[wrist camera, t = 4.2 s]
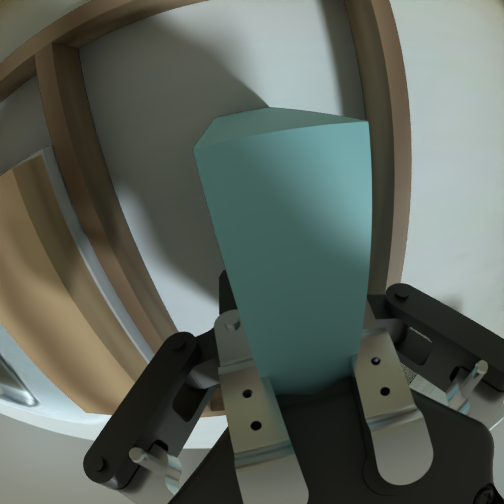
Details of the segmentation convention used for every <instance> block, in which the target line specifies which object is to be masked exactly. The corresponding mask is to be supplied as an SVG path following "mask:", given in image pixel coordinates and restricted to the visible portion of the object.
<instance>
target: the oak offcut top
mask: <svg viewBox="0 0 504 504" xmlns="http://www.w3.org/2000/svg"><path fill="white" fill-rule="evenodd" d="M0 322H1V323H2V325H3V326H4V328H5V329H6V330H7V332H8V333H9V334H10V335H11V337H12V338H13V339H14V340H15V342H16V343H17V344H18V345H19V347H20V348H21V349H22V350H23V351H24V353H25V354H26V355H27V356H28V357H29V358H30V359H31V360H32V362H33V363H34V364H35V365H36V366H37V367H38V368H39V369H40V370H41V371H42V372H43V373H44V374H45V375H46V376H47V377H48V378H49V379H50V380H51V381H52V382H53V383H54V384H55V385H56V386H57V387H58V388H59V389H60V390H61V391H62V392H63V393H64V394H65V395H66V396H68V397H69V398H70V399H71V400H72V401H73V402H74V403H75V404H77V405H78V406H79V407H80V408H81V409H83V410H84V411H85V412H86V413H95V414H106V415H113V414H114V412H115V411H116V409H117V408H118V406H119V405H120V404H121V402H122V401H123V399H124V398H125V396H126V395H127V394H128V392H129V391H130V389H131V388H132V386H133V385H134V384H135V382H136V381H137V379H138V378H139V377H140V375H141V374H142V372H143V371H144V369H145V368H146V367H147V365H148V363H147V362H146V361H145V359H144V358H143V357H142V355H141V354H140V352H139V351H138V350H137V348H136V347H135V345H134V344H133V342H132V341H131V340H130V338H129V337H128V335H127V334H126V332H125V331H124V329H123V328H122V326H121V325H120V323H119V321H118V320H117V318H116V317H115V315H114V314H113V312H112V310H111V309H110V307H109V305H108V304H107V302H106V300H105V299H104V297H103V295H102V294H101V292H100V290H99V288H98V287H97V285H96V283H95V281H94V279H93V277H92V276H91V274H90V272H89V270H88V268H87V266H86V264H85V262H84V260H83V258H82V256H81V254H80V252H79V250H78V248H77V246H76V244H75V242H74V240H73V238H72V235H71V233H70V231H69V229H68V226H67V224H66V222H65V219H64V217H63V215H62V212H61V210H60V207H59V205H58V202H57V200H56V197H55V194H54V192H53V189H52V186H51V183H50V180H49V178H48V175H47V172H46V168H45V165H44V162H43V159H42V155H39V156H37V157H35V158H33V159H30V160H28V161H26V162H24V163H22V164H20V165H18V166H16V167H14V168H12V169H10V170H9V171H8V172H6V173H5V174H3V175H2V176H1V177H0Z"/></svg>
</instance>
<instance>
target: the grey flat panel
mask: <svg viewBox="0 0 504 504" xmlns="http://www.w3.org/2000/svg"><path fill="white" fill-rule="evenodd" d="M39 155H42V159H43V162H44V165H45V168H46V172H47V175H48V178H49V180H50V183H51V186H52V189H53V192H54V194H55V197H56V200H57V202H58V205H59V207H60V210H61V212H62V215H63V217H64V219H65V222H66V224H67V226H68V229H69V231H70V233H71V235H72V238H73V240H74V242H75V244H76V246H77V248H78V250H79V252H80V254H81V256H82V258H83V260H84V262H85V264H86V266H87V268H88V270H89V272H90V274H91V276H92V277H93V279H94V281H95V283H96V285H97V287H98V288H99V290H100V292H101V294H102V295H103V297H104V299H105V300H106V302H107V304H108V305H109V307H110V309H111V310H112V312H113V314H114V315H115V317H116V318H117V320H118V321H119V323H120V325H121V326H122V328H123V329H124V331H125V332H126V334H127V335H128V337H129V338H130V340H131V341H132V342H133V344H134V345H135V347H136V348H137V350H138V351H139V352H140V354H141V355H142V357H143V358H144V359H145V361H146V362H147V363H148V364H149V362H150V361H151V360H152V358H153V357H154V355H155V354H154V352H153V351H152V350H151V348H150V347H149V345H148V344H147V342H146V341H145V339H144V338H143V336H142V335H141V333H140V332H139V330H138V329H137V327H136V325H135V324H134V322H133V321H132V319H131V317H130V316H129V314H128V313H127V311H126V309H125V308H124V306H123V304H122V302H121V301H120V299H119V297H118V296H117V294H116V292H115V290H114V288H113V287H112V285H111V283H110V281H109V279H108V278H107V276H106V274H105V272H104V270H103V268H102V266H101V264H100V262H99V260H98V258H97V256H96V254H95V252H94V250H93V248H92V246H91V244H90V242H89V240H88V237H87V235H86V233H85V231H84V229H83V226H82V224H81V222H80V219H79V217H78V215H77V212H76V210H75V207H74V205H73V202H72V200H71V197H70V195H69V192H68V189H67V187H66V184H65V181H64V178H63V175H62V173H61V170H60V167H59V164H58V160H57V157H56V154H55V151H54V147H53V145H50V146H47V147H45V148H42V149H41V150H39V151H37V152H36V153H34V154H32V155H31V156H29V157H28V158H26V159H24V160H23V161H21V162H20V163H18V164H17V165H15V166H14V167H16V166H18V165H20V164H22V163H24V162H26V161H28V160H30V159H33V158H35V157H37V156H39ZM14 167H12V168H14ZM12 168H11V169H12ZM9 170H10V169H9ZM9 170H8V171H9ZM8 171H7V172H8ZM5 173H6V172H5ZM5 173H4V174H5ZM2 175H3V174H2ZM2 175H1V176H2ZM1 176H0V177H1Z"/></svg>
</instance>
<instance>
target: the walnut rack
mask: <svg viewBox="0 0 504 504" xmlns="http://www.w3.org/2000/svg"><path fill="white" fill-rule="evenodd" d="M203 1H208V0H92V1H90V2H88V3H86V4H84V5H83V6H81V7H79V8H77V9H75V10H74V11H72V12H70V13H68V14H67V15H65V16H63V17H62V18H60V19H59V20H57V21H55V22H54V23H52V24H51V25H49V26H48V27H46V28H45V29H43V30H42V31H41V32H39V33H38V34H36V35H35V36H34V37H32V38H31V39H30V40H28V41H27V42H26V43H24V44H23V45H22V46H21V47H19V48H18V49H17V50H16V51H14V52H13V53H12V54H11V55H10V56H8V57H7V58H6V59H5V60H4V61H3V62H2V63H1V64H0V103H1V102H2V101H3V100H4V99H5V98H6V97H7V96H9V95H10V94H11V93H12V92H14V91H15V90H16V89H17V88H19V87H20V86H21V85H22V84H24V83H25V82H26V81H28V80H29V79H30V78H32V77H33V76H34V75H36V74H37V76H38V83H39V88H40V94H41V99H42V104H43V109H44V113H45V117H46V121H47V125H48V129H49V133H50V137H51V140H52V144H53V147H54V151H55V154H56V157H57V160H58V164H59V167H60V170H61V173H62V175H63V178H64V181H65V184H66V187H67V189H68V192H69V195H70V197H71V200H72V202H73V205H74V207H75V210H76V212H77V215H78V217H79V219H80V222H81V224H82V226H83V229H84V231H85V233H86V235H87V237H88V240H89V242H90V244H91V246H92V248H93V250H94V252H95V254H96V256H97V258H98V260H99V262H100V264H101V266H102V268H103V270H104V272H105V274H106V276H107V278H108V279H109V281H110V283H111V285H112V287H113V288H114V290H115V292H116V294H117V296H118V297H119V299H120V301H121V302H122V304H123V306H124V308H125V309H126V311H127V313H128V314H129V316H130V317H131V319H132V321H133V322H134V324H135V325H136V327H137V329H138V330H139V332H140V333H141V335H142V336H143V338H144V339H145V341H146V342H147V344H148V345H149V347H150V348H151V350H152V351H153V352H154V354H156V353H157V351H158V350H159V348H160V347H161V346H162V344H163V343H164V341H165V340H166V339H167V338H168V337H170V336H171V335H173V334H175V333H178V330H177V328H176V327H175V325H174V323H173V321H172V319H171V317H170V315H169V313H168V311H167V310H166V308H165V306H164V304H163V302H162V300H161V298H160V296H159V294H158V292H157V290H156V288H155V285H154V283H153V281H152V279H151V277H150V275H149V273H148V271H147V268H146V266H145V264H144V262H143V260H142V257H141V255H140V253H139V251H138V248H137V246H136V244H135V241H134V239H133V237H132V234H131V232H130V229H129V227H128V224H127V222H126V219H125V217H124V214H123V212H122V209H121V206H120V204H119V201H118V198H117V196H116V193H115V190H114V187H113V184H112V182H111V179H110V176H109V173H108V170H107V167H106V164H105V160H104V157H103V154H102V151H101V148H100V144H99V141H98V137H97V134H96V130H95V127H94V123H93V119H92V115H91V111H90V107H89V103H88V99H87V94H86V90H85V85H84V80H83V75H82V70H81V64H80V59H79V53H78V48H79V47H81V46H83V45H85V44H86V43H88V42H90V41H92V40H94V39H96V38H98V37H100V36H103V35H105V34H107V33H109V32H111V31H113V30H116V29H118V28H120V27H123V26H125V25H128V24H130V23H133V22H135V21H138V20H141V19H143V18H146V17H149V16H152V15H155V14H158V13H161V12H164V11H168V10H171V9H175V8H178V7H182V6H186V5H190V4H194V3H199V2H203ZM344 4H345V7H346V11H347V15H348V19H349V23H350V27H351V31H352V35H353V40H354V44H355V49H356V54H357V60H358V65H359V71H360V77H361V83H362V90H363V98H364V106H365V115H366V121H368V124H369V135H370V150H371V171H372V230H371V252H370V267H369V279H368V289H367V294H370V295H377V294H385V292H386V290H387V288H388V287H389V286H391V285H393V284H396V283H400V282H401V276H402V270H403V264H404V257H405V250H406V242H407V233H408V223H409V212H410V197H411V165H412V156H411V124H410V110H409V99H408V90H407V82H406V74H405V68H404V62H403V56H402V50H401V45H400V41H399V36H398V31H397V27H396V23H395V19H394V15H393V12H392V8H391V5H390V1H389V0H344ZM222 415H226V412H225V407H224V402H223V396H222V391H221V386H219V387H216V389H215V391H214V392H213V394H212V396H211V398H210V400H209V402H208V403H207V405H206V407H205V409H204V411H203V413H202V414H201V416H200V417H212V416H222Z"/></svg>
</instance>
